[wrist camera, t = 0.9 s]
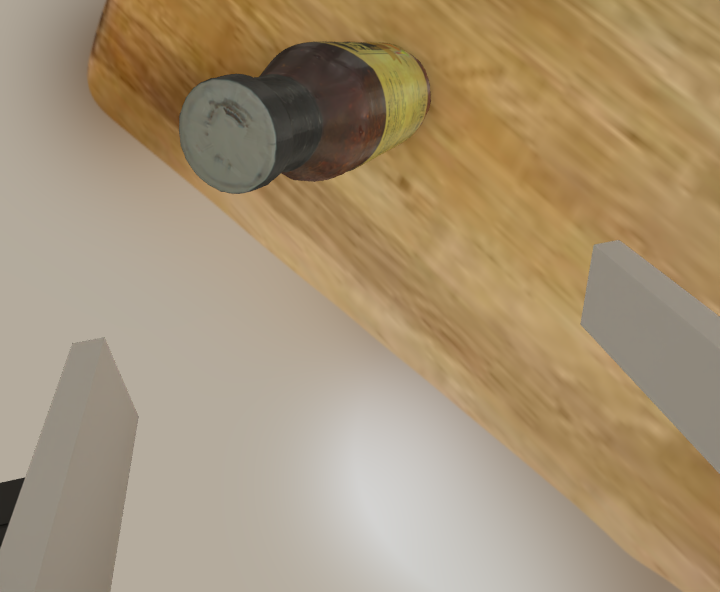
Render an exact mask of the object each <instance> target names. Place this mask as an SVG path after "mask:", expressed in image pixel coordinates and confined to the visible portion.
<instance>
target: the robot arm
mask: <svg viewBox="0 0 720 592" xmlns="http://www.w3.org/2000/svg"><path fill="white" fill-rule="evenodd" d="M581 325H582V326H583V328H584V329H585V330H586V331H587V332H588V333H589V334H590V335H591V336H592V337H593V338H594V339H595V340H596V341H597V343H598V344H599V345H600V346H601V347H602V348H603V349H604V350H605V351H606V352H607V353H608V354H609V355H610V357H611V358H612V359H613V360H614V361H615V362H616V363H617V364H618V365H619V366H620V367H621V368H622V369H623V371H624V372H625V373H626V374H627V375H628V376H629V377H630V378H631V379H632V380H633V381H634V382H635V383H636V384H637V386H638V387H639V388H640V389H641V390H642V391H643V392H644V393H645V394H646V395H647V396H648V397H649V398H650V400H651V401H652V402H653V403H654V404H655V405H656V406H657V407H658V408H659V409H660V410H661V411H662V412H663V414H664V415H665V416H666V417H667V418H668V419H669V420H670V421H671V422H672V423H673V424H674V425H675V426H676V427H677V429H678V430H679V431H680V432H681V433H682V434H683V435H684V436H685V437H686V438H687V439H688V440H689V441H690V443H691V444H692V445H693V446H694V447H695V448H696V449H697V450H698V451H699V452H700V453H701V454H702V455H703V457H704V458H705V459H706V460H707V461H708V462H709V463H710V464H711V465H712V466H713V467H714V468H715V469H716V470H717V472H718V473H719V474H720V317H719V316H718V315H717V314H715V313H714V312H713V311H712V310H710V309H709V308H708V307H706V306H705V305H704V304H702V303H701V302H700V301H698V300H697V299H696V298H695V297H693V296H692V295H691V294H689V293H688V292H687V291H685V290H684V289H683V288H681V287H680V286H679V285H677V284H676V283H675V282H674V281H672V280H671V279H670V278H668V277H667V276H666V275H664V274H663V273H662V272H660V271H659V270H658V269H656V268H655V267H654V266H653V265H651V264H650V263H649V262H647V261H646V260H645V259H643V258H642V257H641V256H639V255H638V254H637V253H635V252H634V251H633V250H632V249H630V248H629V247H628V246H626V245H625V244H624V243H622V242H621V241H620V240H617V241H611V242H606V243H601V244H595V245H594V247H593V253H592V259H591V265H590V271H589V277H588V283H587V289H586V295H585V301H584V307H583V313H582V319H581ZM137 423H138V414H137V412H136V409H135V407H134V405H133V402H132V400H131V398H130V396H129V393H128V391H127V388H126V386H125V384H124V382H123V379H122V377H121V374H120V372H119V370H118V368H117V366H116V363H115V360H114V358H113V356H112V353H111V351H110V349H109V346H108V344H107V342H106V339H105V338H99V339H94V340H88V341H83V342H78V343H72V346H71V349H70V352H69V355H68V357H67V360H66V363H65V366H64V369H63V372H62V374H61V377H60V380H59V383H58V386H57V389H56V392H55V394H54V397H53V400H52V403H51V406H50V409H49V411H48V414H47V417H46V420H45V423H44V426H43V429H42V431H41V434H40V437H39V440H38V443H37V446H36V449H35V451H34V455H33V457H32V460H31V463H30V466H29V469H28V471H27V474H26V477H25V478H21V479H16V480H12V481H7V482H2V483H0V592H110V590H111V584H112V577H113V571H114V565H115V558H116V553H117V545H118V540H119V534H120V528H121V522H122V515H123V509H124V502H125V497H126V490H127V484H128V478H129V472H130V466H131V460H132V453H133V447H134V441H135V435H136V429H137Z"/></svg>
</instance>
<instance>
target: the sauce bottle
mask: <svg viewBox="0 0 720 592" xmlns="http://www.w3.org/2000/svg"><path fill="white" fill-rule="evenodd" d="M430 102H431V99H430V84H429V80H428V77H427V74H426V71H425V69H424V68H423V66H422V64H421V63H420V61H419V60H417V59H416V58H415V57H414V56H412V55H411V54H409V53H408V52H406V51H405V50H403V49H402V48H400V47H398V46H396V45H393V44H388V43H362V42H307V43H301V44H297V45H294V46H291V47H289V48H287V49H285V50H283V51H282V52H281V53H279V54H278V55H277V56H276V57H275V58H274V59H273V60H272V61H271V62H270V64H269V65H268V66H267V67H266V69H265V70H264V71H263V73H262V74H261V75H260V76H259V77H257V78H256V77H254V78H253V77H251V76H247V75H243V74H230V75H224V76H220V77H217V78H210V79H208V80H206V81H204V82H201V83H200V84H198V85H197V86H196V87H194V88H193V89H192V91H191V92H190V93H189V95H188V96H187V97H186V99H185V102H184V104H183V107H182V110H181V113H180V116H179V134H180V142H181V147H182V150H183V152H184V155H185V158H186V160H187V161H188V163H189V165H190V166H191V168H192V169H193V170H194V172H195V173H196V174H197V175H198V176H199V177H200V178H201V179H202V180H203V181H204V182H206V183H207V184H208V185H210V186H212V187H214V188H216V189H217V190H219V191H221V192H227V193H233V194H240V193H246V192H250V191H253V190H256V189H258V188H261V187H263V186H266V185H268V184H269V183H270V182H271V181H272V180H274V179H275V178H276V177H277V176H278V175H279V174H280V173H282V174H284V175H286V176H287V177H289V178H291V179H293V180H300V181H314V182H315V181H323V180H329V179H331V178H334V177H336V176H338V175H342V174H344V173H345V172H348V171H351V170H353V169H355V168H357V167H359V166H361V165H363V164H365V163H366V162H368V161H370V160H372V159H374V158H375V157H377V156H379V155H381V154H383V153H385V152H386V151H388V150H390V149H392V148H394V147H395V146H397V145H399V144H400V143H402V142H404V141H405V140H407V139H408V138H409V137H410V136H412V135H413V134H414V133H415V131H416V130H417V129H418V127H419V126H420V125H421V124H422V121H423V120H424V118H425V115H426V114H427V112H428V110H429V106H430Z"/></svg>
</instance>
